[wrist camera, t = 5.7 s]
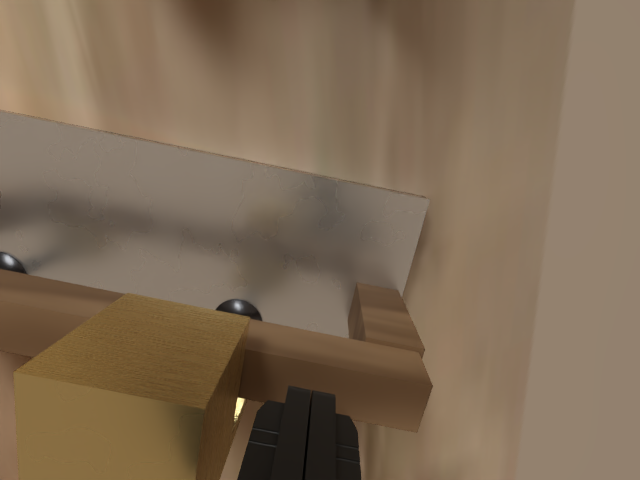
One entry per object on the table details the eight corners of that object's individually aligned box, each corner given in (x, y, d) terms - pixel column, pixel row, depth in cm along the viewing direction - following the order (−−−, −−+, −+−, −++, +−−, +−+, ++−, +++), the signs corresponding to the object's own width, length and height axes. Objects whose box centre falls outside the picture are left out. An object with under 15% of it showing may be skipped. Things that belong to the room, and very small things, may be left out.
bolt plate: (-76, 94, 19) (-106, 89, 17) (424, 196, 19) (430, 200, 18) (-52, 320, 22) (-75, 330, 21) (366, 402, 23) (368, 417, 21)
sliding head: (211, 234, 18) (13, 371, 7) (284, 248, 18) (204, 409, 7) (200, 326, 20) (22, 564, 8) (268, 340, 20) (180, 593, 9)
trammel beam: (-85, 192, 19) (-411, 227, 11) (398, 290, 19) (446, 396, 11) (-76, 272, 20) (-360, 358, 12) (378, 362, 20) (407, 507, 12)
